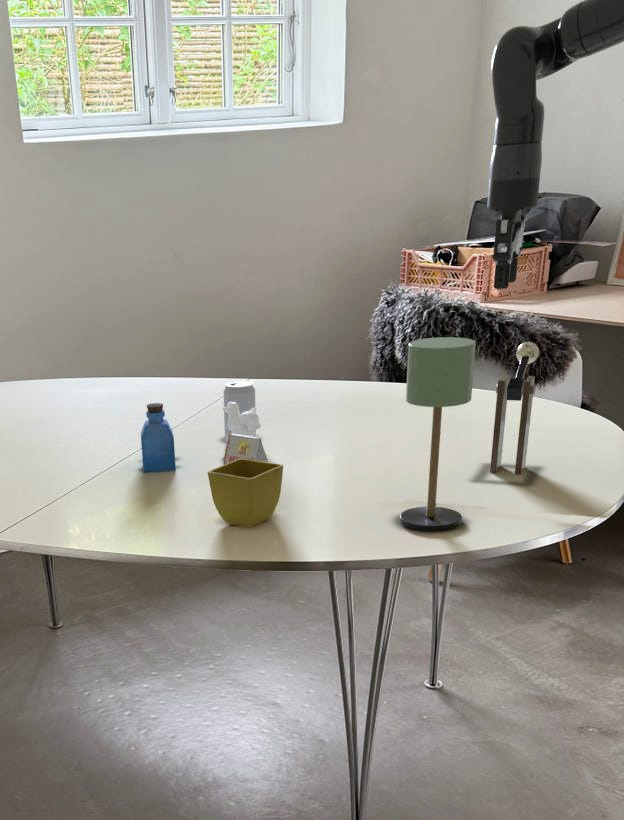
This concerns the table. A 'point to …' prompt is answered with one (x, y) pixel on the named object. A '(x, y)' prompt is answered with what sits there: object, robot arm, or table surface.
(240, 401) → the beverage can
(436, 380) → the desk lamp
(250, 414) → the white animal figurine
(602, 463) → the table surface
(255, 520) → the flower pot
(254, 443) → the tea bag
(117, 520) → the table surface
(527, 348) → the lamp switch
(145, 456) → the blue corked bottle
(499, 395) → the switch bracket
